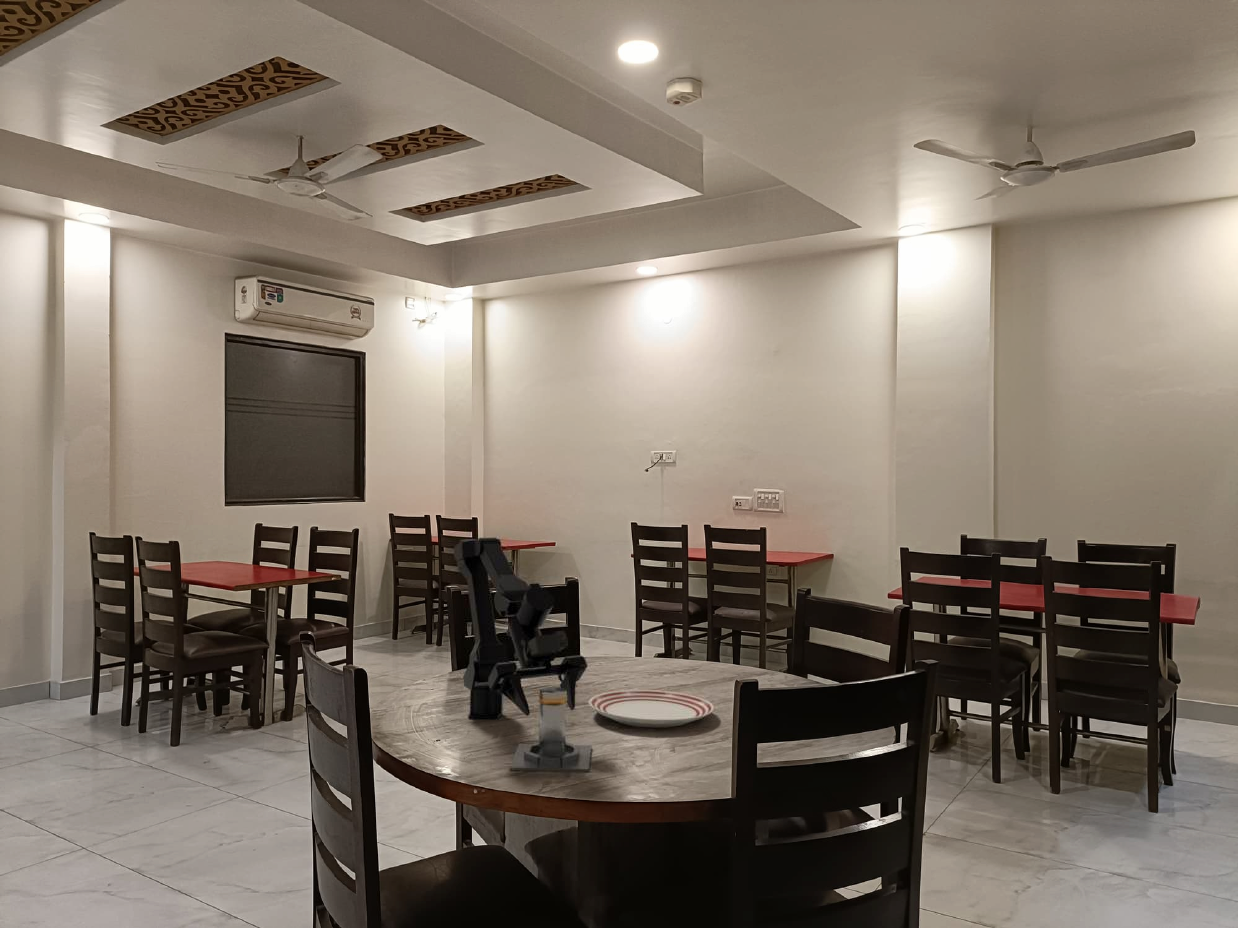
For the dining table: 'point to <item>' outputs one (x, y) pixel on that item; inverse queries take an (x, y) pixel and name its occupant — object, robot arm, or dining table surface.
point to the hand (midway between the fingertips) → (551, 711)
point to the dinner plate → (650, 707)
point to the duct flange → (551, 759)
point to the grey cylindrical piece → (552, 722)
